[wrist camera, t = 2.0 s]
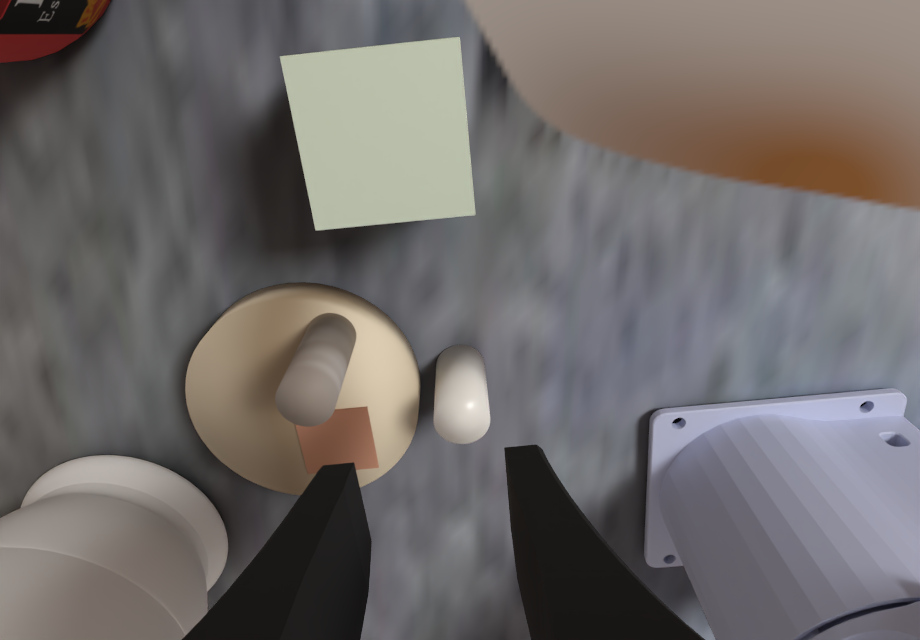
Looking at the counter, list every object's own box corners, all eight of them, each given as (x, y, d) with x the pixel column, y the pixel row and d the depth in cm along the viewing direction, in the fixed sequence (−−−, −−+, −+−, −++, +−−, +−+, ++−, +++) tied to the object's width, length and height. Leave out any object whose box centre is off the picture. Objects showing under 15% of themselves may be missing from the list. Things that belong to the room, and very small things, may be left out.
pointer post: (482, 342, 22) (487, 394, 19) (486, 384, 23) (492, 441, 20) (433, 347, 22) (430, 399, 19) (439, 388, 23) (437, 446, 20)
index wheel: (405, 271, 21) (390, 347, 16) (432, 460, 24) (427, 572, 19) (173, 294, 21) (85, 375, 16) (233, 478, 24) (176, 593, 19)
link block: (457, 36, 18) (459, 37, 13) (470, 173, 20) (475, 214, 15) (323, 51, 18) (279, 56, 13) (347, 185, 20) (315, 230, 15)
